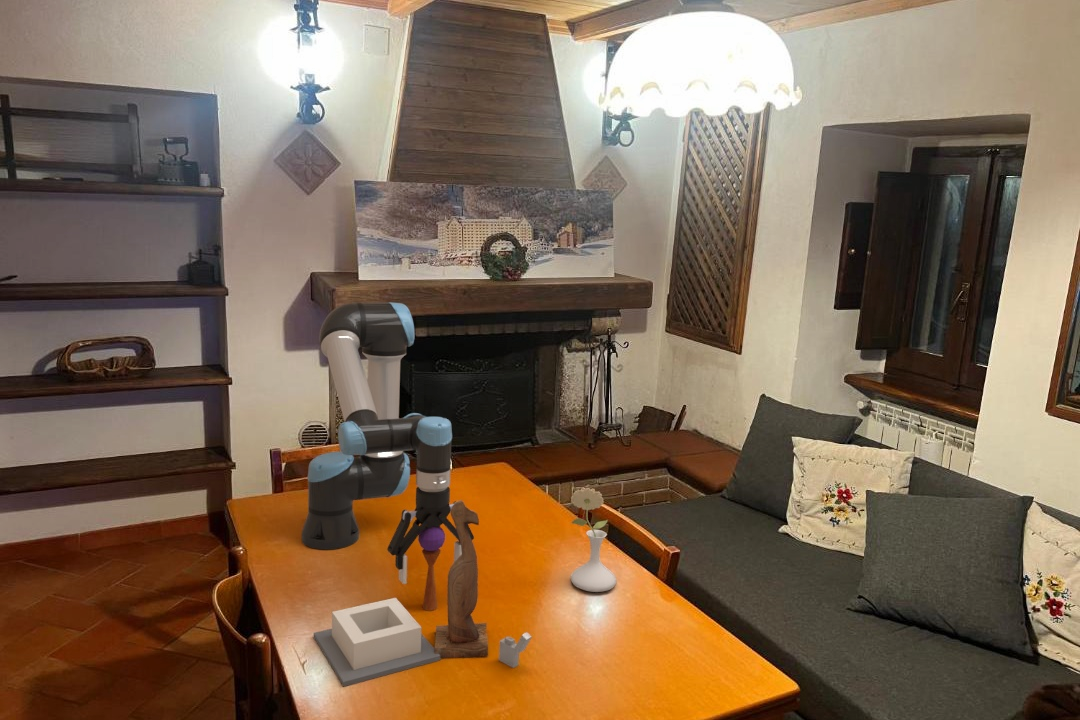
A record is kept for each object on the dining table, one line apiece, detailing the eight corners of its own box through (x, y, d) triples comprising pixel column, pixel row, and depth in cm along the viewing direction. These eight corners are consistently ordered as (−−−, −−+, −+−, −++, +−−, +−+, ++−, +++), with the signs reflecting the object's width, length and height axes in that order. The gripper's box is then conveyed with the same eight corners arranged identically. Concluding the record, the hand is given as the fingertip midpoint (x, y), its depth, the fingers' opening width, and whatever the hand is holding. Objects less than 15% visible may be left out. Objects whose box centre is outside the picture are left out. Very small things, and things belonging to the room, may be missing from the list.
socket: (313, 637, 166) (313, 608, 165) (402, 616, 176) (403, 589, 175) (343, 686, 149) (343, 655, 148) (440, 660, 160) (441, 630, 159)
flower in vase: (622, 582, 198) (629, 487, 194) (606, 600, 188) (613, 501, 184) (574, 570, 204) (580, 478, 199) (556, 588, 194) (562, 491, 189)
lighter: (498, 660, 161) (500, 623, 159) (504, 656, 162) (505, 620, 161) (524, 674, 156) (526, 637, 155) (530, 670, 158) (532, 633, 156)
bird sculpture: (491, 658, 162) (497, 511, 156) (434, 661, 160) (438, 512, 154) (485, 630, 173) (491, 491, 167) (432, 633, 171) (435, 492, 165)
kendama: (424, 616, 177) (426, 532, 173) (412, 605, 182) (414, 523, 178) (447, 609, 180) (450, 527, 177) (435, 598, 185) (437, 518, 181)
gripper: (385, 500, 166) (384, 593, 170) (490, 484, 179) (486, 571, 183) (373, 489, 172) (372, 579, 176) (475, 474, 185) (472, 559, 189)
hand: (430, 575), depth 179 cm, fingers open, 13 cm apart
